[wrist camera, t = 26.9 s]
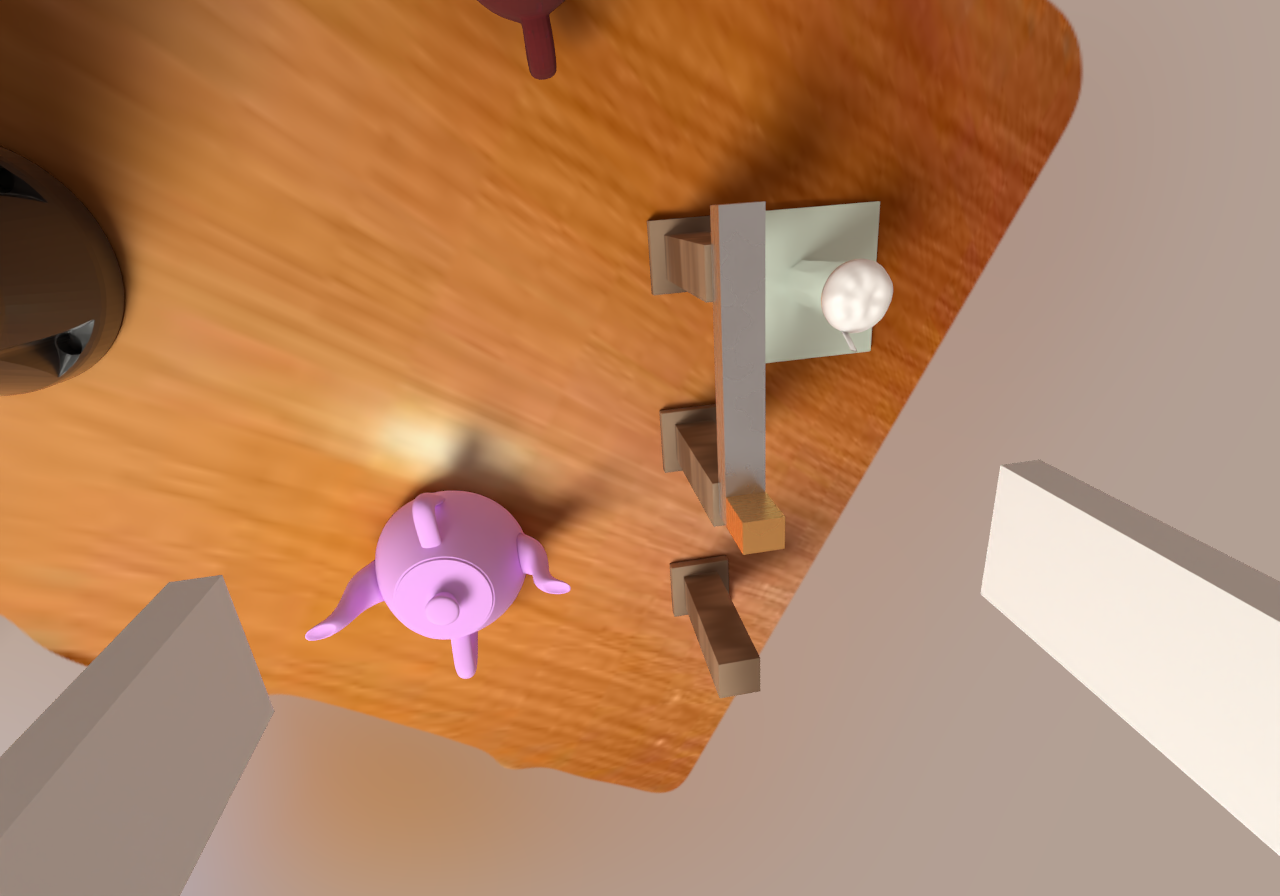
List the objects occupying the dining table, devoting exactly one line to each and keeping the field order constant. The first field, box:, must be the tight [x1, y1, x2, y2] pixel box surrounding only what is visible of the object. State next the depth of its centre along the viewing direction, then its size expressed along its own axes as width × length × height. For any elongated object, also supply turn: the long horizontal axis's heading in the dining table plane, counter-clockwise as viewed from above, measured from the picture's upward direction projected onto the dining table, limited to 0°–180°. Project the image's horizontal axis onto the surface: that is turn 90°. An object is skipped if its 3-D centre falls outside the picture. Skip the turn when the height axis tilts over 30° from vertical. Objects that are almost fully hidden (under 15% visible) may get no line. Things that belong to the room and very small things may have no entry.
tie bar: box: [710, 201, 785, 555], centre depth 33 cm, size 2×18×5 cm, turn 4°
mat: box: [765, 201, 880, 363], centre depth 47 cm, size 11×11×1 cm
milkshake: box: [785, 259, 893, 352], centre depth 42 cm, size 4×5×10 cm
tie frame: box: [647, 216, 760, 698], centre depth 45 cm, size 5×33×12 cm, turn 4°
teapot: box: [305, 491, 570, 678], centre depth 46 cm, size 12×14×9 cm
